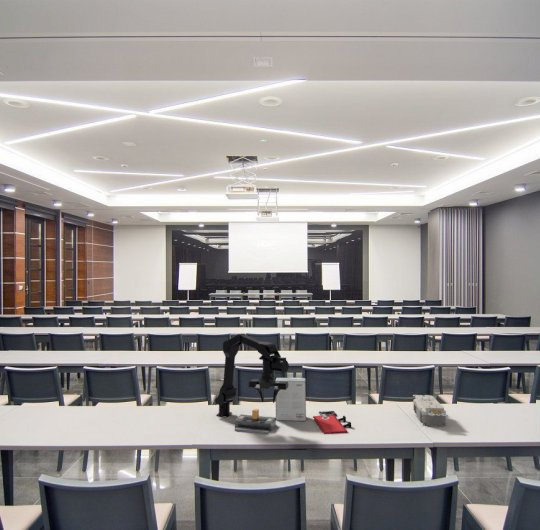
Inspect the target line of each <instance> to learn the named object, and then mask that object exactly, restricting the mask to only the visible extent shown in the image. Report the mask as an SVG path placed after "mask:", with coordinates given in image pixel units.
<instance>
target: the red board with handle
mask: <svg viewBox="0 0 540 530" xmlns="http://www.w3.org/2000/svg"><path fill="white" fill-rule="evenodd" d="M318 413H319V415H313V416H312V419H313V418H314V419H313V420H314V422H315V421H316V422H315V423H316V424H317V426H318V428H319V429H320V431H321V432H322V433H323V434H324V435H327V434H330V435H331V434H348V433H349V431H348V430H347V429H346V428H349V429H352V422H351V421H348V422H347V417H346V416H345V415H342V417H340V418H337V416H338V414H337V413H336V412H335V410H329V411H328V410H326V411H324V410H323V411H318ZM341 422H344V423H345V424H343V423H341Z"/></svg>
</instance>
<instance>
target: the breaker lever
mask: <svg viewBox="0 0 540 530" xmlns="http://www.w3.org/2000/svg"><path fill="white" fill-rule="evenodd" d="M251 412H252V414H251V415H252V419H258V418H259V416H260V415H259V414H260V409H259V408H253V409H252V410H251Z"/></svg>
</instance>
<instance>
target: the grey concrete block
mask: <svg viewBox="0 0 540 530" xmlns="http://www.w3.org/2000/svg"><path fill="white" fill-rule="evenodd" d="M412 396H413V397H415V398H414V399H413V402H412V403H413V409H412V410H413V411H414V414H415V415H416V418H417V419H418V420H419V422H422V426H427V427H443V426H446V417H447V416H448V414H447V411H446V410H445V408H444V406H443V405H442V404H441V403H440V402H439V401H438V400H437V399H436V398H435V397H434V396H433V395H429V394H424V395H422V394H412Z"/></svg>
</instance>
